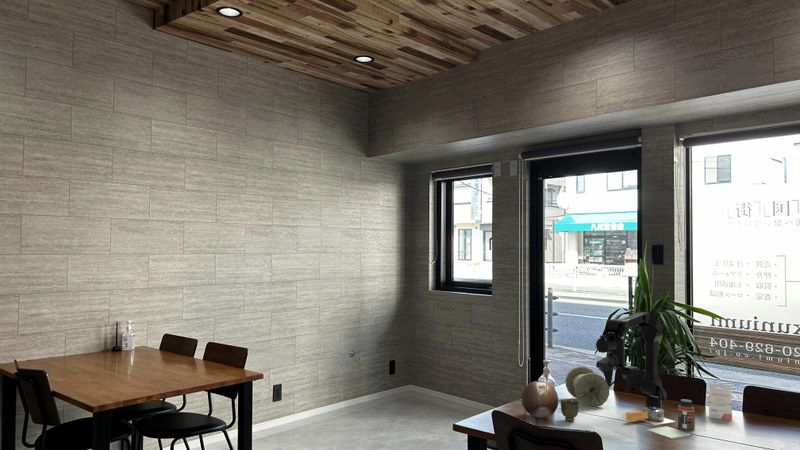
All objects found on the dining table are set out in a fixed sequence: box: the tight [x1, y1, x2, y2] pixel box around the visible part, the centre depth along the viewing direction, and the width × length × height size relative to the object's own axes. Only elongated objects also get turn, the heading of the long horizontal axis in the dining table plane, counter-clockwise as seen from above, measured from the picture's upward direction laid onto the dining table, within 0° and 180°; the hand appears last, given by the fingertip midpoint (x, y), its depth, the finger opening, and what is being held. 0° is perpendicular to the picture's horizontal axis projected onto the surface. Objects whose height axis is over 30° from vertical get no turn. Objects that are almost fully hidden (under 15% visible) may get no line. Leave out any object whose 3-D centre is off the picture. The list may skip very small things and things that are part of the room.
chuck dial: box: [625, 406, 665, 422], centre depth 237 cm, size 18×8×5 cm, turn 115°
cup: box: [559, 399, 580, 423], centre depth 237 cm, size 8×7×8 cm
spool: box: [565, 366, 610, 409], centre depth 267 cm, size 16×15×15 cm
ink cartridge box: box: [707, 382, 733, 421], centre depth 243 cm, size 9×5×15 cm, turn 62°
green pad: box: [646, 425, 692, 440], centre depth 221 cm, size 11×11×1 cm
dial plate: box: [640, 417, 677, 426], centre depth 239 cm, size 12×12×1 cm
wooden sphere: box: [521, 380, 560, 419], centre depth 242 cm, size 15×15×15 cm
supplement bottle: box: [677, 398, 696, 431], centre depth 227 cm, size 6×6×11 cm
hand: (617, 388), depth 237 cm, fingers open, 9 cm apart
